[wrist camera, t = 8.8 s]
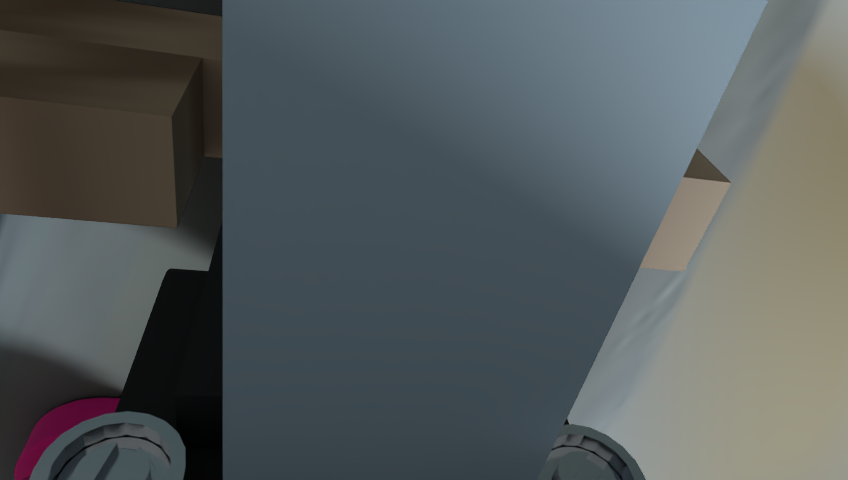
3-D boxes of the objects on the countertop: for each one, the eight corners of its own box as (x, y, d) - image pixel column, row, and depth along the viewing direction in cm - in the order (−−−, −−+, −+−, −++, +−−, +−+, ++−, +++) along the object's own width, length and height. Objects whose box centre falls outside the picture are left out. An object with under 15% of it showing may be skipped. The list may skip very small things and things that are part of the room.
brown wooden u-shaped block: (625, 77, 18) (731, 182, 13) (597, 150, 19) (683, 271, 14) (14, -15, 15) (-145, 78, 10) (31, 80, 16) (-101, 204, 11)
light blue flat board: (353, 316, 21) (367, 830, 11) (282, 312, 21) (223, 845, 10) (449, -283, 12) (1138, -768, 2) (327, -315, 12) (220, -1267, 1)
